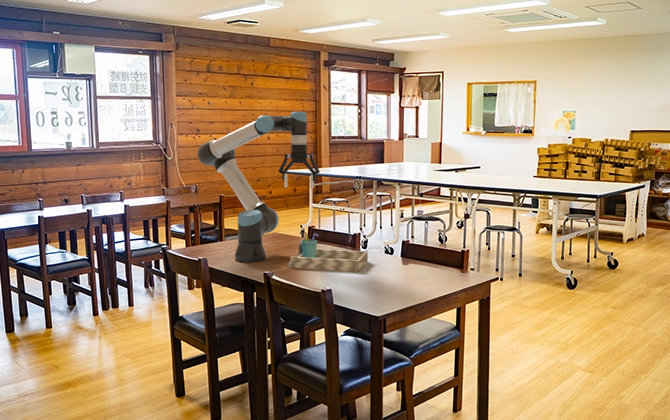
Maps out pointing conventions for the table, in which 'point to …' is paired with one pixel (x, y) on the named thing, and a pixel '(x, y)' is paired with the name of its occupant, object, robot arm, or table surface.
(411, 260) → the table surface
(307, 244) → the cup
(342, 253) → the tray
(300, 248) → the winch
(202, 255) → the table surface
